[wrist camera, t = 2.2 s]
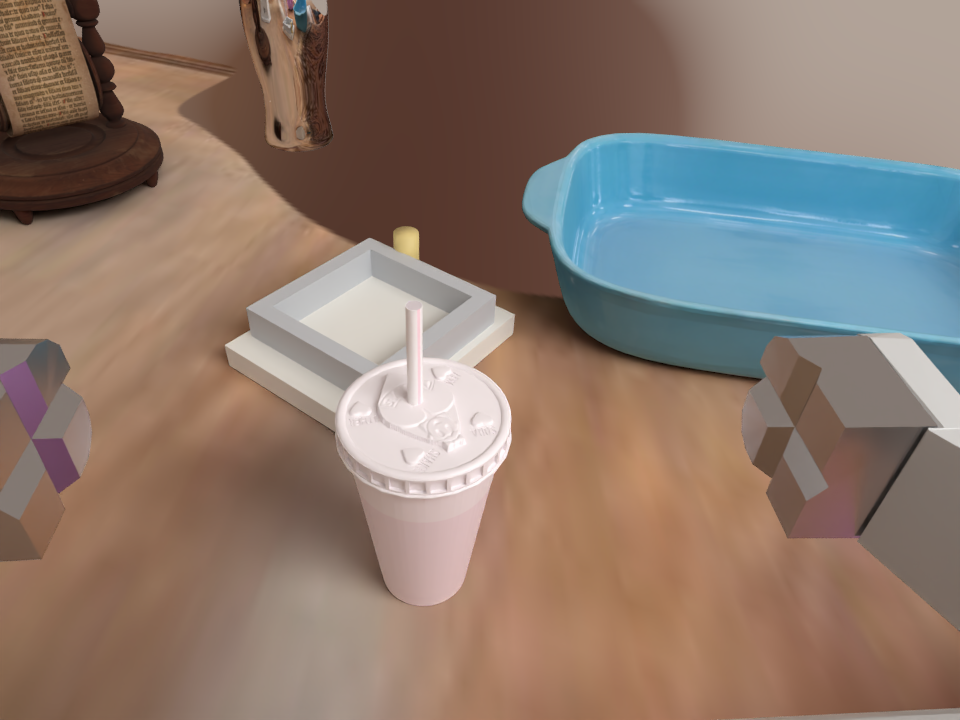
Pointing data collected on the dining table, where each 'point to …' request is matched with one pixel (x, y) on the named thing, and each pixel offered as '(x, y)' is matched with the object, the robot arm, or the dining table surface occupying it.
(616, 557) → the dining table surface
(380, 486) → the smoothie
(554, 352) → the dining table surface
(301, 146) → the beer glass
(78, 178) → the brown spool stand
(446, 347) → the collar plate
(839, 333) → the casserole dish
